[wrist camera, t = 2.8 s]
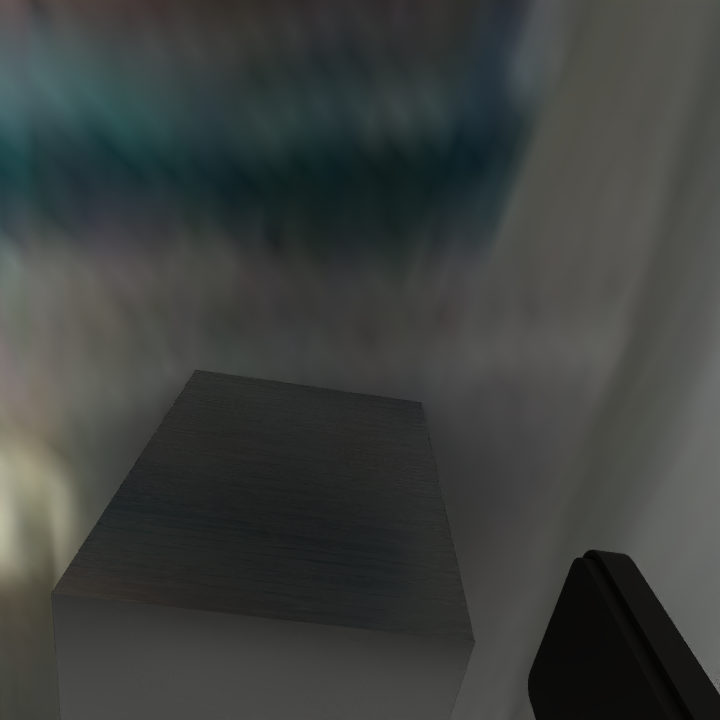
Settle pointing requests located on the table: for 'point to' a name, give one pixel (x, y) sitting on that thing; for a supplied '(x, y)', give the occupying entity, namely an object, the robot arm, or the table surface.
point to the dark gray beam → (268, 567)
